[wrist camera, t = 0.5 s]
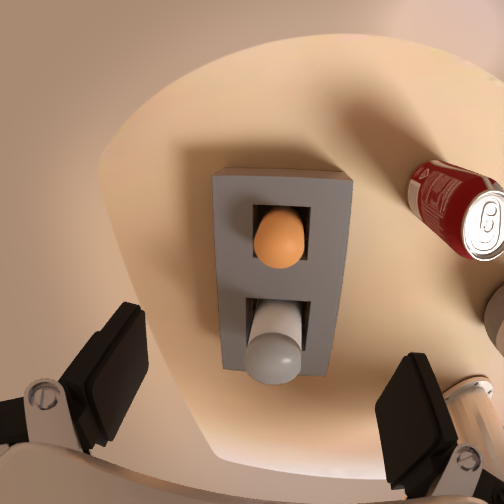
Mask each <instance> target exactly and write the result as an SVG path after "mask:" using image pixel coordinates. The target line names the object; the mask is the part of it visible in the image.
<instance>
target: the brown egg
mask: <svg viewBox="0 0 504 504" xmlns="http://www.w3.org/2000/svg"><path fill="white" fill-rule="evenodd" d="M254 250H255V253H256V255H257V257H258V258H259V259H260V260H261V261H262V262H263V263H264V264H265V265H267V266H269V267H272V268H278V269H282V268H287V267H290V266H292V265H294V264H295V263H296V262H297V261H298V260H299V259H300V258H301V256H302V254H303V251H304V230H303V221H302V218H301V216H300V215H299V213H298V212H297V211H296V210H294V209H293V208H291V207H289V206H282V205H279V206H275V207H272V208H270V209H269V210H267V211H266V212H265V214H264V215H263V217H262V220H261V222H260V225H259V228H258V231H257V234H256V236H255V240H254Z"/></svg>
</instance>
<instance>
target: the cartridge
mask: <svg viewBox="0 0 504 504" xmlns="http://www.w3.org/2000/svg"><path fill="white" fill-rule="evenodd" d="M244 367H245V370H246V372H247V373H248V374H249V375H250V376H251V377H252V378H253V379H255V380H257V381H259V382H261V383H264V384H270V385H278V384H284V383H287V382H289V381H291V380H293V379H294V378H295V377H296V376H297V375H298V374H299V372H300V369H301V301H295V300H277V299H261V298H258V301H257V306H256V310H255V315H254V319H253V324H252V328H251V332H250V337H249V341H248V345H247V350H246V354H245V358H244Z"/></svg>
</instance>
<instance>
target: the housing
mask: <svg viewBox="0 0 504 504" xmlns="http://www.w3.org/2000/svg"><path fill="white" fill-rule="evenodd" d="M212 189H213V216H214V239H215V259H216V277H217V293H218V309H219V323H220V337H221V350H222V362H223V369H228V370H237V371H246V370H245V367H244V358H245V354H246V350H247V345H248V341H249V337H250V332H251V328H252V324H253V321H252V298H261V299H277V300H295V301H307V311H306V320H305V324H301V369H300V372H299V374H298V375H306V376H326V373H327V368H328V364H329V359H330V353H331V348H332V343H333V338H334V332H335V326H336V321H337V315H338V308H339V302H340V296H341V289H342V282H343V275H344V267H345V260H346V252H347V243H348V234H349V224H350V214H351V203H352V191H353V180H352V179H351V178H350V177H349V176H348V175H347V174H346V173H345V172H336V171H321V170H302V169H276V168H223V169H222V170H220V171H219V172H217V173H215V174H214V175H212ZM259 205H282V206H304V207H308V216H307V234H306V241H304V251H303V254H302V256H301V258H300V259H299V260H298V261H297V262H296V263H295V264H294V265H292V266H290V267H287V268H282V269H278V268H272V267H269V266H267V265H265V264H264V263H263V262H262V261H261V260H260V259H259V258H258V257H257V255H256V253H255V250H254V240H255V236H256V234H257V231H258V228H259Z"/></svg>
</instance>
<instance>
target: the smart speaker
mask: <svg viewBox="0 0 504 504" xmlns="http://www.w3.org/2000/svg"><path fill="white" fill-rule="evenodd" d="M484 324H485V329H486V332H487V334H488V336H489V338H490V340H491V341H492V343H493V344H494V346H495V347H496V348H497V350H498V351H499V352H500V353H501V354H502V356H503V357H504V285H503V286H501V287H500V288H499V289H498V290H497V291H496V292H495V293H494V294H493V296H492V297H491V299H490V300H489V302H488V304H487V307H486V310H485V314H484Z"/></svg>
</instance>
